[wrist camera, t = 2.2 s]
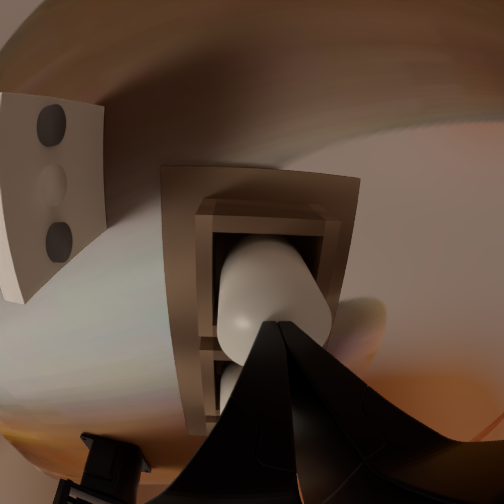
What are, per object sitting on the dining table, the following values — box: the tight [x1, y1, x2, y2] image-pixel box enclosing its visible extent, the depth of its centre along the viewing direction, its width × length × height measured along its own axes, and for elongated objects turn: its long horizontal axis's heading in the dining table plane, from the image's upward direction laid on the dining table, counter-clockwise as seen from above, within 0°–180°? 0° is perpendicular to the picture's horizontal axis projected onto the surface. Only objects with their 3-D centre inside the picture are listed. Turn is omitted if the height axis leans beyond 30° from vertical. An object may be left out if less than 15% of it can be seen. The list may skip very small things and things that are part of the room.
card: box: [0, 92, 107, 304], centre depth 8 cm, size 6×1×7 cm, turn 177°
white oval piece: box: [217, 233, 332, 366], centre depth 10 cm, size 3×3×4 cm
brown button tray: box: [161, 166, 360, 436], centre depth 14 cm, size 20×9×3 cm, turn 177°
